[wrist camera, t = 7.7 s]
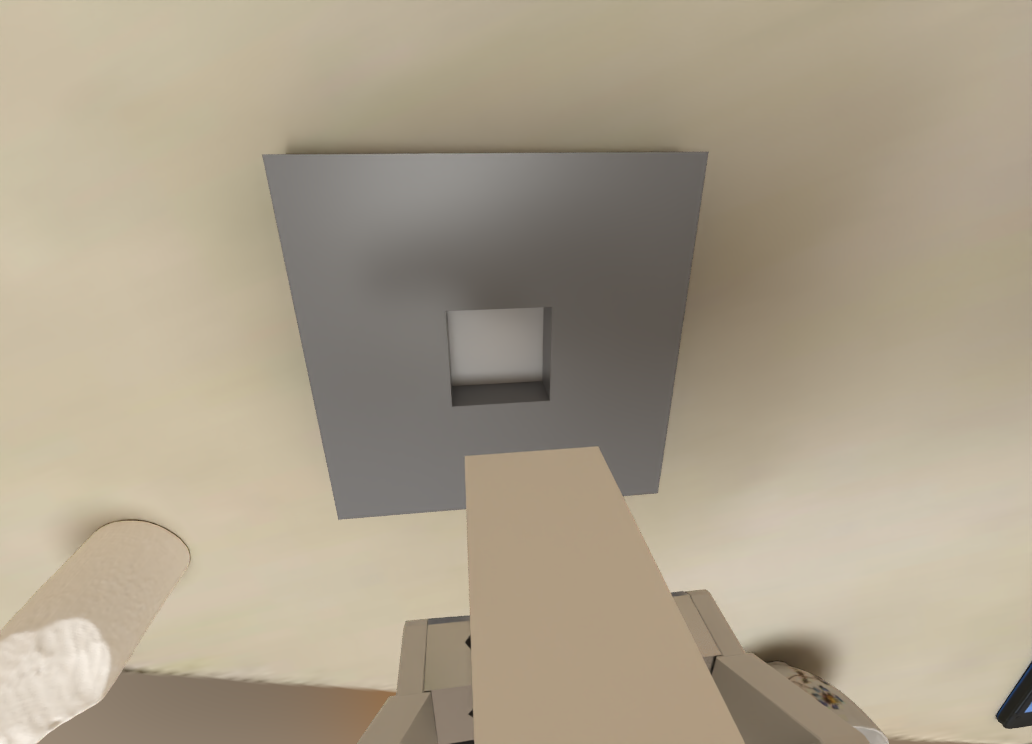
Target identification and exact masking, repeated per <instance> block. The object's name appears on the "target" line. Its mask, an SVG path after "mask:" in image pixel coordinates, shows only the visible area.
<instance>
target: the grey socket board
mask: <svg viewBox="0 0 1032 744" xmlns="http://www.w3.org/2000/svg"><path fill="white" fill-rule="evenodd" d="M262 156H263V160H264V165H265V170H266V175H267V180H268V184H269V189H270V194H271V199H272V204H273V208H274V213H275V218H276V223H277V227H278V232H279V237H280V242H281V247H282V251H283V256H284V261H285V266H286V271H287V275H288V280H289V285H290V290H291V295H292V299H293V304H294V309H295V314H296V318H297V323H298V328H299V333H300V338H301V342H302V347H303V352H304V357H305V362H306V366H307V371H308V376H309V381H310V386H311V390H312V395H313V400H314V405H315V409H316V414H317V419H318V424H319V429H320V433H321V438H322V443H323V448H324V453H325V457H326V462H327V467H328V472H329V477H330V481H331V486H332V491H333V496H334V500H335V505H336V510H337V515H338V520H339V519H351V518H363V517H375V516H388V515H400V514H412V513H424V512H436V511H448V510H460V509H466V485H465V456H472V455H486V454H500V453H513V452H527V451H541V450H554V449H568V448H582V447H596V446H598V447H599V449H600V451H601V453H602V455H603V457H604V459H605V461H606V463H607V465H608V467H609V469H610V471H611V473H612V475H613V477H614V479H615V481H616V484H617V486H618V488H619V490H620V492H621V494H622V496H630V495H642V494H654V493H658V488H659V481H660V475H661V468H662V461H663V455H664V448H665V441H666V434H667V428H668V421H669V414H670V407H671V401H672V394H673V387H674V380H675V374H676V367H677V360H678V353H679V347H680V340H681V333H682V327H683V320H684V313H685V306H686V300H687V293H688V286H689V279H690V273H691V266H692V259H693V252H694V246H695V239H696V232H697V225H698V219H699V212H700V205H701V199H702V192H703V185H704V178H705V172H706V165H707V158H708V152H592V153H430V154H268V155H262Z"/></svg>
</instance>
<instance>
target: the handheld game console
mask: <svg viewBox="0 0 1032 744" xmlns="http://www.w3.org/2000/svg"><path fill="white" fill-rule="evenodd" d="M997 720H998V722H1000V723H1001V724H1002V725H1003V727H1005V728H1008V729H1012V728H1019V727H1025V726H1032V664H1031V665H1030V667H1029V668H1028V670H1027V671H1026V673H1025V674H1024V676H1023V677H1022V679H1021V680H1020V682H1019V683H1018V684H1017V686H1016V687H1015V689H1014V690H1013V692H1012V693H1011V695H1010V696H1009V697H1008V699H1007V700H1006V702H1005V703H1004V705H1003V706H1002V708H1001V709H1000V711H999V712H998V714H997Z"/></svg>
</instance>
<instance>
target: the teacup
mask: <svg viewBox="0 0 1032 744" xmlns="http://www.w3.org/2000/svg"><path fill="white" fill-rule="evenodd" d="M767 664H768V665H770V666H771V667H772V668H774V669H775V670H776V671H778V672H779V673H780V674H782V675H783V676H785V677H786V678H787V679H789V680H790V681H791V682H793V683H794V684H795V685H797V686H798V687H800V688H801V689H802V690H804V691H805V692H806V693H808V694H809V695H811V696H812V697H813V698H815V699H816V700H817V701H819V702H820V703H821V704H823V705H824V706H826V707H827V708H828V709H830V710H831V711H832V712H834V713H835V714H836V715H838V716H839V717H841V718H842V719H843V720H845V721H846V722H847V723H849V724H850V725H851V726H853V727H854V728H856V729H857V730H858V731H860V732H861V733H862V734H864V735H865V737H866V738H867V740H868V741H869V743H870V744H889V742H888V739H887V737H886V736H885V734H884V733H883V732H882V731H881V730H880V729H879V728H878V727H877V726H876V725H875V723H874V722H873V721H872V720H871V719H870V718H869V717H868V716H867V715H866V714H865V713H864V712H863V711H862V710H861V709H860V708H859V707H858V706H857V705H856V704H855V703H854V702H853V701H852V700H850V699H849V698H848V697H847V696H846V695H844V694H843V693H842V692H841V691H839V690H838V689H837V688H835V687H834V686H832V685H831V684H829V683H828V682H826V681H824V680H823V679H821V678H819V677H817V676H815V675H813V674H811V673H809V672H806V671H804V670H801V669H798V668H794V667H790V666H789V665H787V664H786V663H784V662H779V661H774V662H769V663H767Z"/></svg>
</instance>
